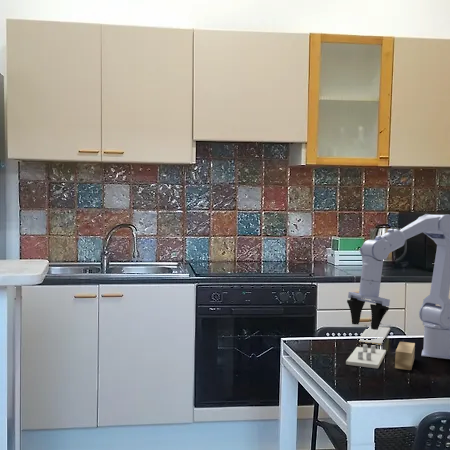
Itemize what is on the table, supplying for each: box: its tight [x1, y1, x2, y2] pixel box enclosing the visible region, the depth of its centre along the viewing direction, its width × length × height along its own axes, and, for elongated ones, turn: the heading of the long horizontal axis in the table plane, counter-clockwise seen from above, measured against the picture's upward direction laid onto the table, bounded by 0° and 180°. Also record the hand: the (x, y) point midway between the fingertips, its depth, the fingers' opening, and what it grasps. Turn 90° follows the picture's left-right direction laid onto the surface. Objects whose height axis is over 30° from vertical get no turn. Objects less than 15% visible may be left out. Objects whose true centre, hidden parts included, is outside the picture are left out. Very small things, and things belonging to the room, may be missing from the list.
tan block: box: [394, 341, 416, 371], centre depth 166 cm, size 4×14×5 cm, turn 158°
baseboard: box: [359, 322, 391, 345], centre depth 204 cm, size 30×3×10 cm
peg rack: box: [345, 344, 387, 369], centre depth 170 cm, size 9×20×3 cm, turn 158°
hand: (364, 326), depth 166 cm, fingers open, 7 cm apart
